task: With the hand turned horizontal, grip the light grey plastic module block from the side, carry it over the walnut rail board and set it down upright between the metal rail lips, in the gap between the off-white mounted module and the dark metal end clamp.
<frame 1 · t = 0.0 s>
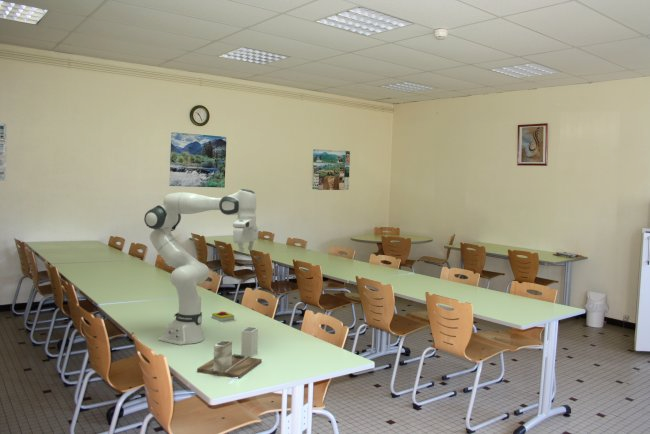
hand: (246, 250, 263), 48 cm above the table, tool pointing down, fingers open, 8 cm apart
rail board: (230, 367, 237), on the table
emergency button: (223, 320, 320), on the table
grey module block: (249, 354, 255), on the table
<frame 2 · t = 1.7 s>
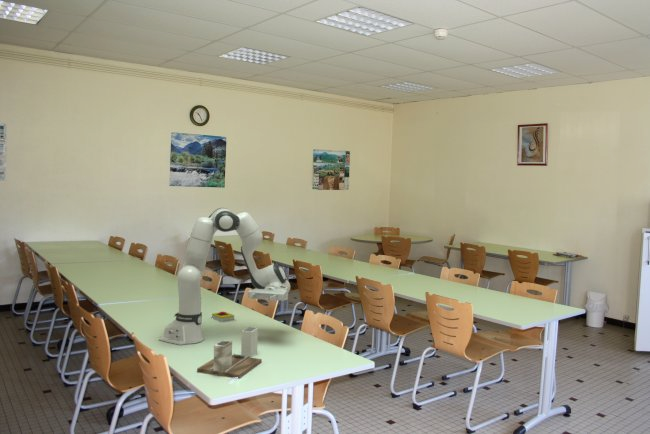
hand: (260, 298, 265), 25 cm above the table, tool horizontal, fingers open, 8 cm apart
nothing on the table moved.
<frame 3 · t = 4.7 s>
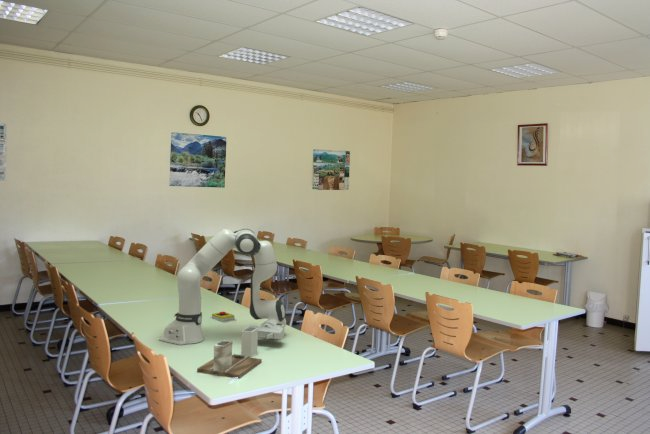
hand: (257, 336, 263), 6 cm above the table, tool horizontal, fingers open, 8 cm apart
nothing on the table moved.
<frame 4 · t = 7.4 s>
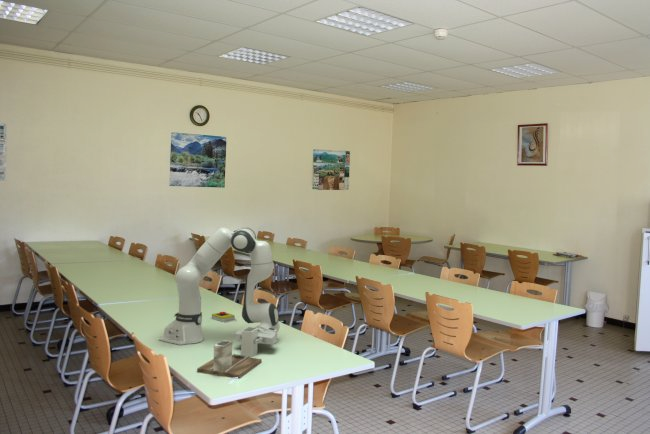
hand: (248, 341, 254), 7 cm above the table, tool horizontal, fingers closed on grey module block, 5 cm apart
grey module block: (249, 354, 255), on the table, touching gripper
everything else where it was.
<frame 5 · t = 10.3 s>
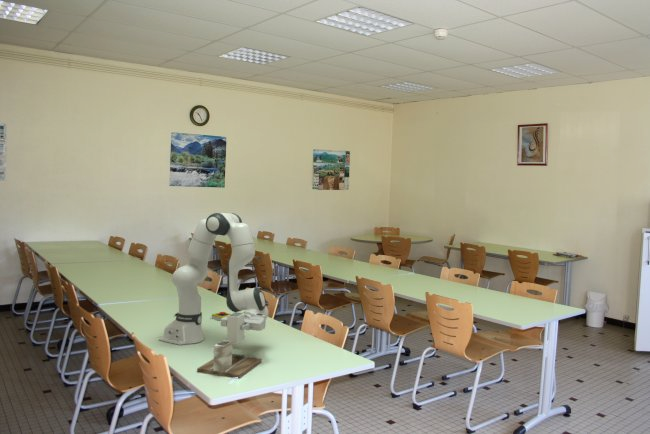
hand: (235, 327, 239), 17 cm above the table, tool horizontal, fingers closed on grey module block, 5 cm apart
grey module block: (235, 341, 240), point 10 cm above the table, touching gripper
everything else where it was.
when the fingers open (9 cm above the table, at t = 13.1 s): grey module block drops 1 cm, resting on rail board.
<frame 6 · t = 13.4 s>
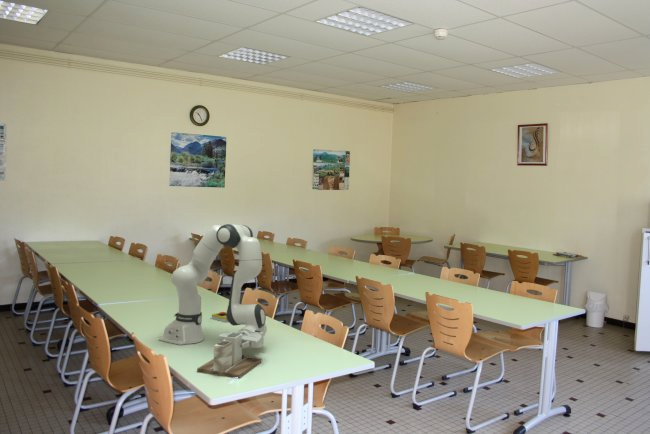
hand: (232, 344, 238), 9 cm above the table, tool horizontal, fingers open, 7 cm apart
grey module block: (232, 361, 239), point 2 cm above the table, touching rail board
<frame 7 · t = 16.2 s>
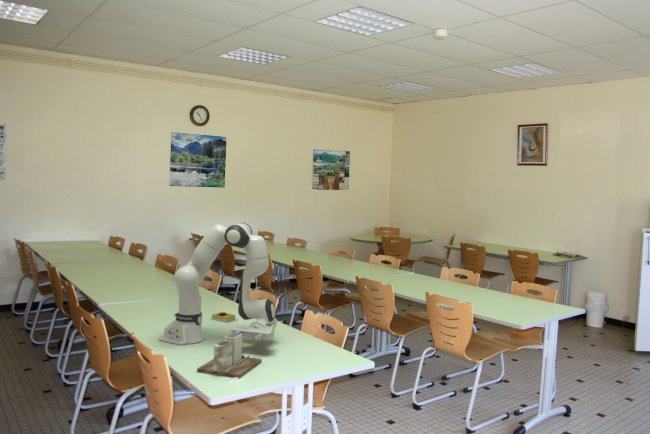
hand: (245, 337, 250), 9 cm above the table, tool horizontal, fingers open, 8 cm apart
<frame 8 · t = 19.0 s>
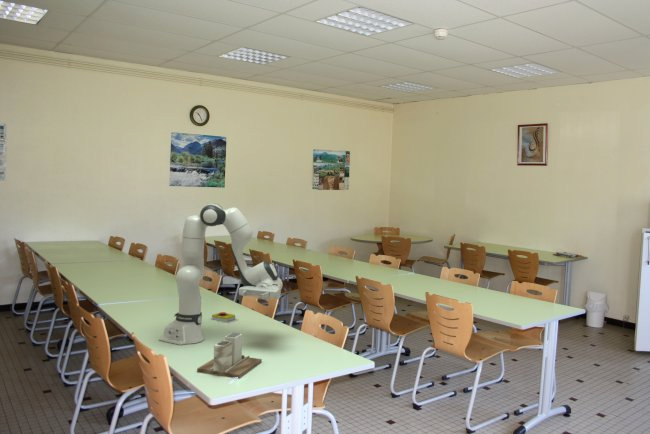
hand: (252, 295, 255), 28 cm above the table, tool horizontal, fingers open, 8 cm apart
at the end: grey module block 0.0 cm from the target spot on the rail board, point 1.5 cm above the rail board's base; grey module block tilted 0°; the gripper is holding nothing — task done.
